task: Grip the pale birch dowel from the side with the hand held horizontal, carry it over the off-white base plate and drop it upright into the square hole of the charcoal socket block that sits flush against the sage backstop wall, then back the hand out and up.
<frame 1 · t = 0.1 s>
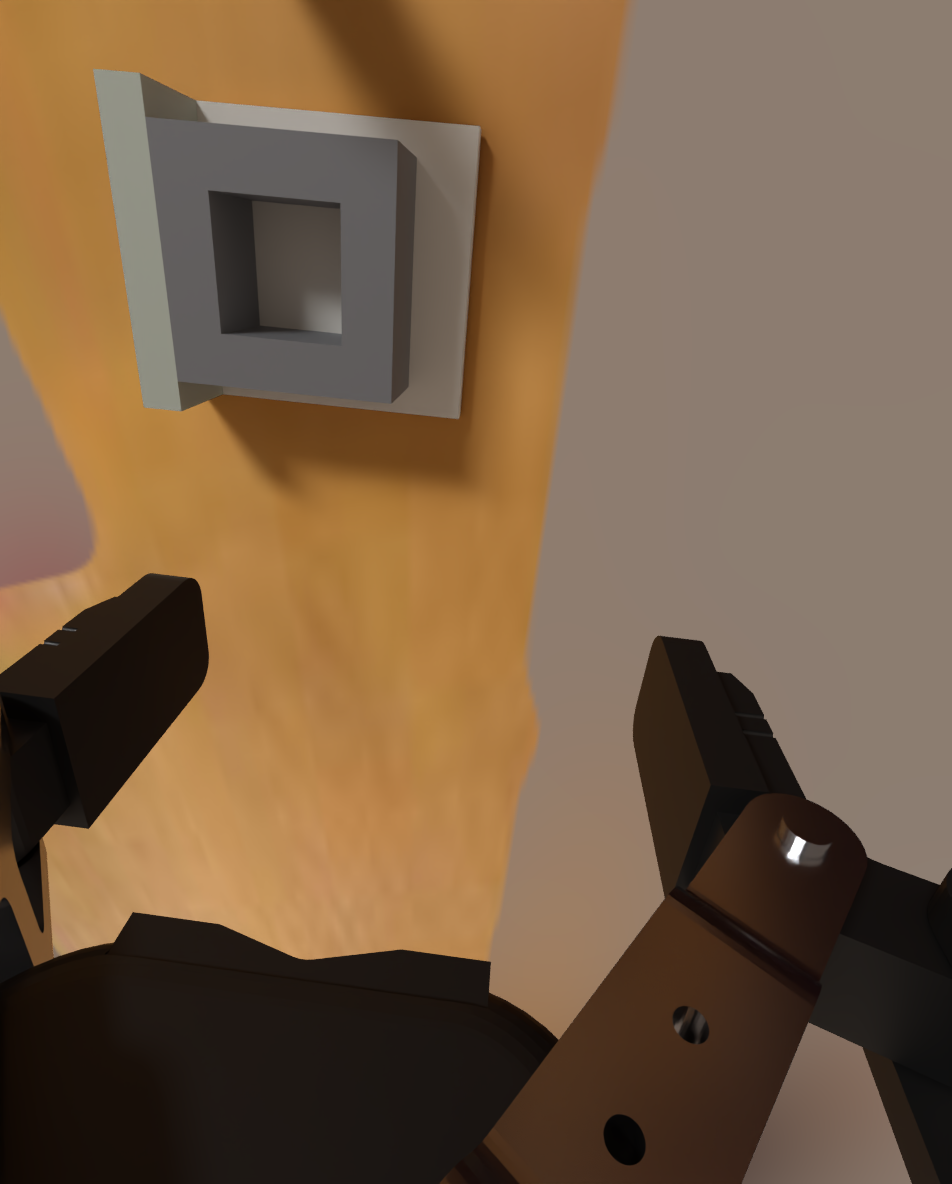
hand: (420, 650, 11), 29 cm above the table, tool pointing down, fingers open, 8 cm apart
dowel dock: (325, 271, 35), on the table
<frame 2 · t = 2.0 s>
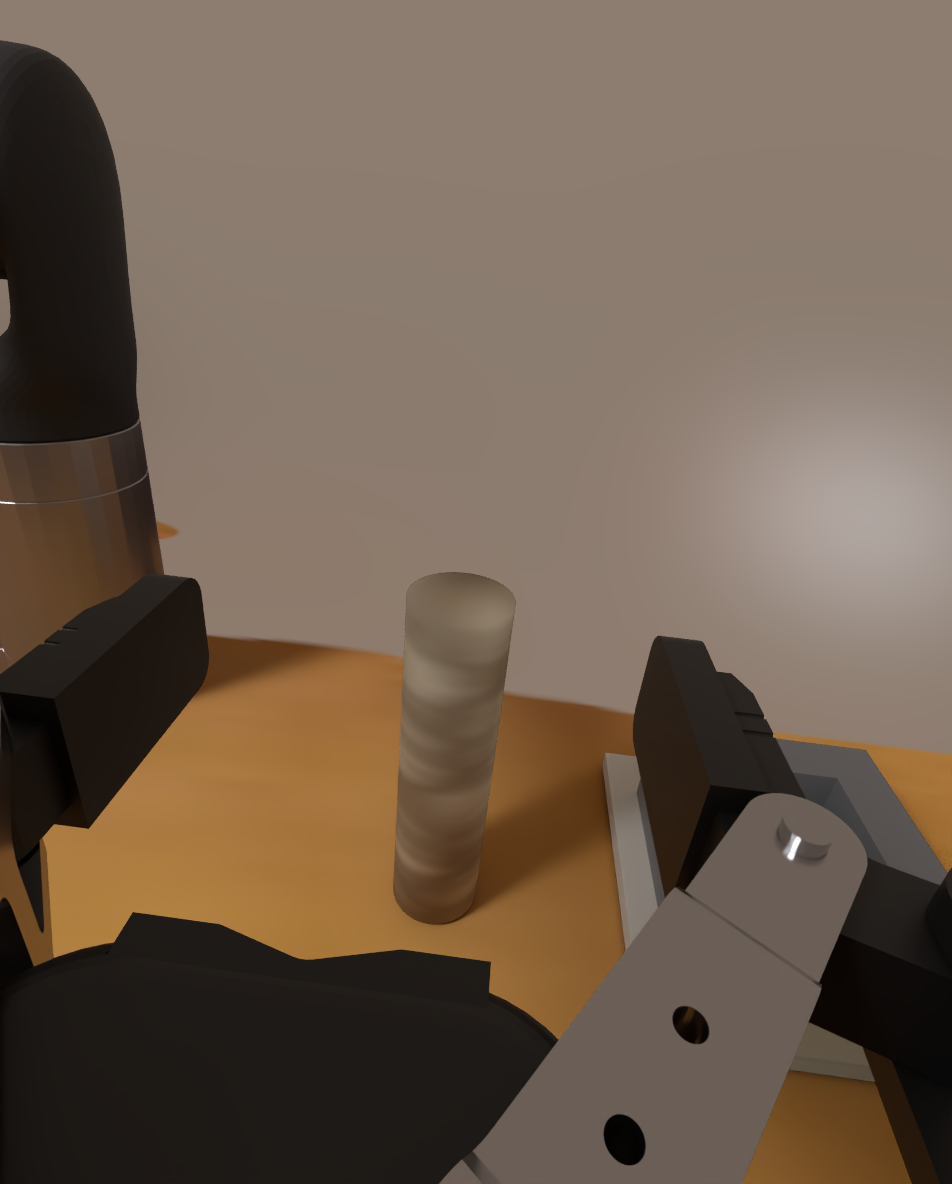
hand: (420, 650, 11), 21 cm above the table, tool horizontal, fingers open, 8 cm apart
dowel dock: (755, 894, 32), on the table
dowel: (434, 885, 31), on the table
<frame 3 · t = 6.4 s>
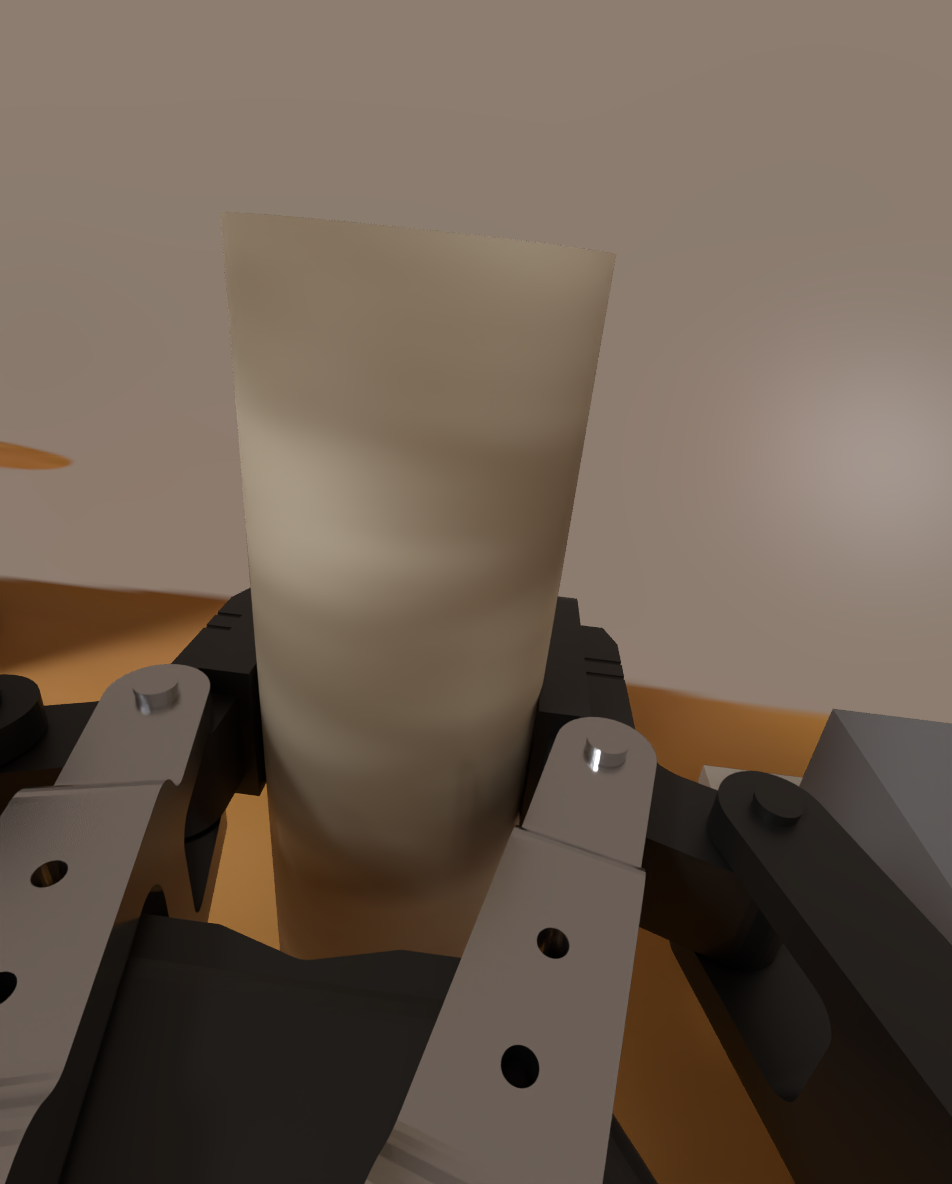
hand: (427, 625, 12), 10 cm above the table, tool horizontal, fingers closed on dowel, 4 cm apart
dowel: (385, 1062, 14), on the table, touching gripper
when the fingers open (12 cm above the table, at t = 10.2 s): dowel drops 1 cm, resting on dowel dock.
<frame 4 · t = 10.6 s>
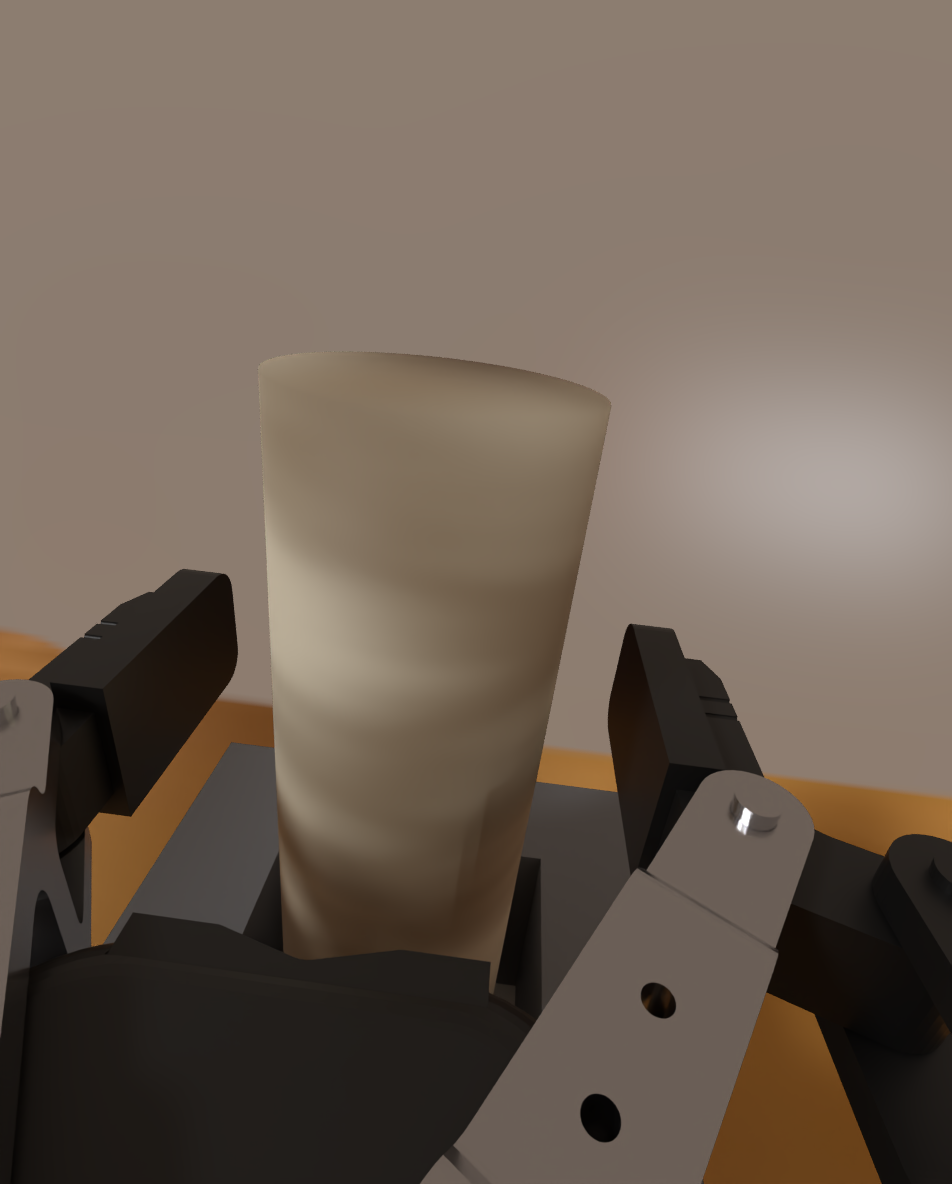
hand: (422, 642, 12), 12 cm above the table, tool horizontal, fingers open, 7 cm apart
dowel dock: (386, 1095, 16), on the table
dowel: (381, 1101, 15), point 1 cm above the table, touching dowel dock
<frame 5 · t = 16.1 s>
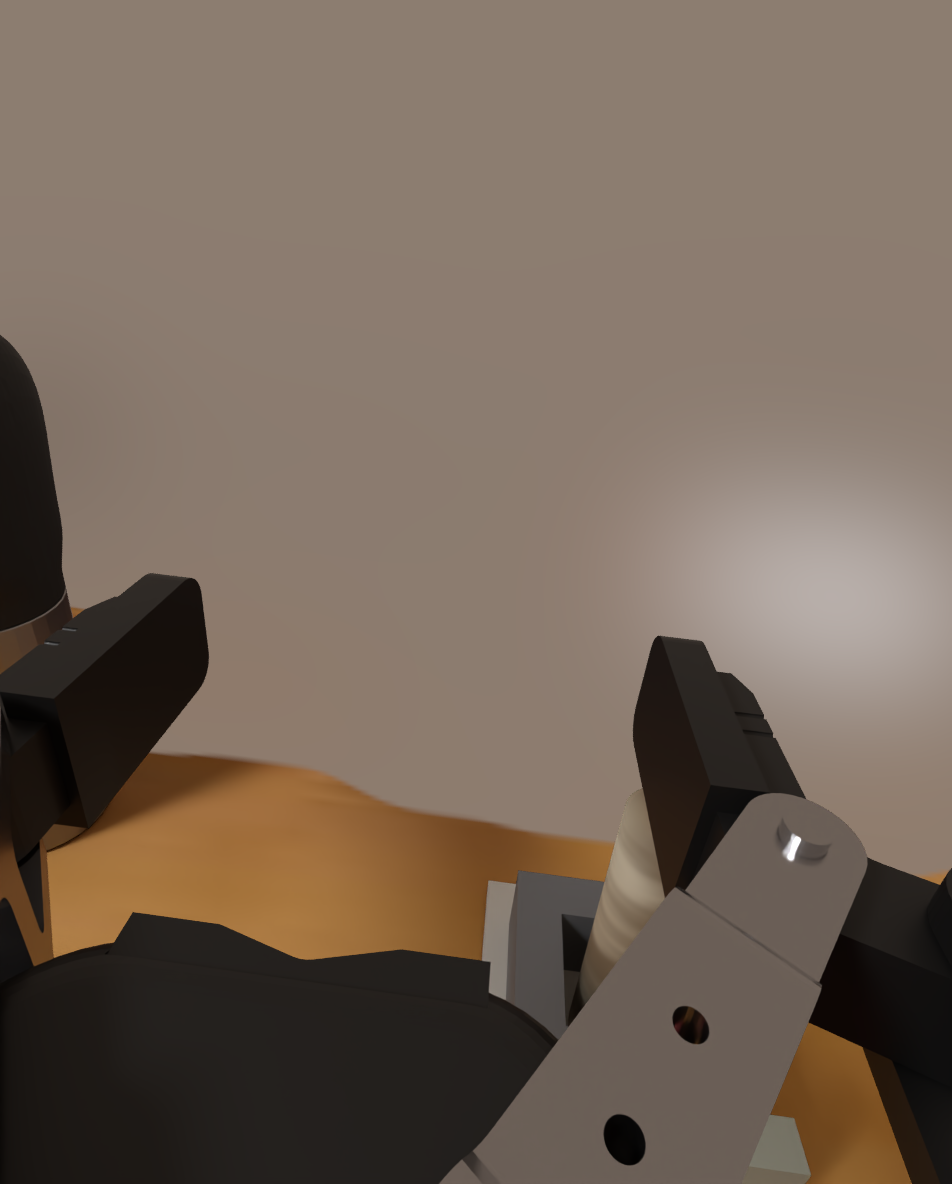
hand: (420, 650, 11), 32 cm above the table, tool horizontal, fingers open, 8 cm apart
dowel dock: (599, 1028, 37), on the table
dowel: (603, 1029, 36), point 1 cm above the table, touching dowel dock
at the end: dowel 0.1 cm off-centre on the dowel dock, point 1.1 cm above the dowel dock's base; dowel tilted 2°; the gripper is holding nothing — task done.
